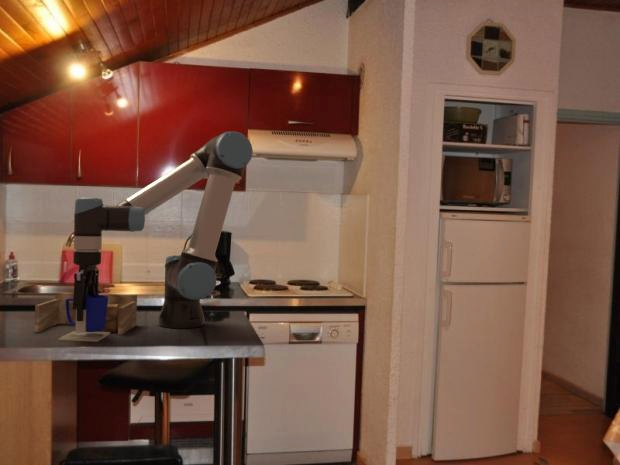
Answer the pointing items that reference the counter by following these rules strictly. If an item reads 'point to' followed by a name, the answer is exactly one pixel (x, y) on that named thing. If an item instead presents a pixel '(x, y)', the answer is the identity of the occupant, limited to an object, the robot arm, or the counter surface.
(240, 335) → the counter surface
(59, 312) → the rack
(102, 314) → the mug
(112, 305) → the offcut oak
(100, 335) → the sage tile
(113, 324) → the offcut walnut
